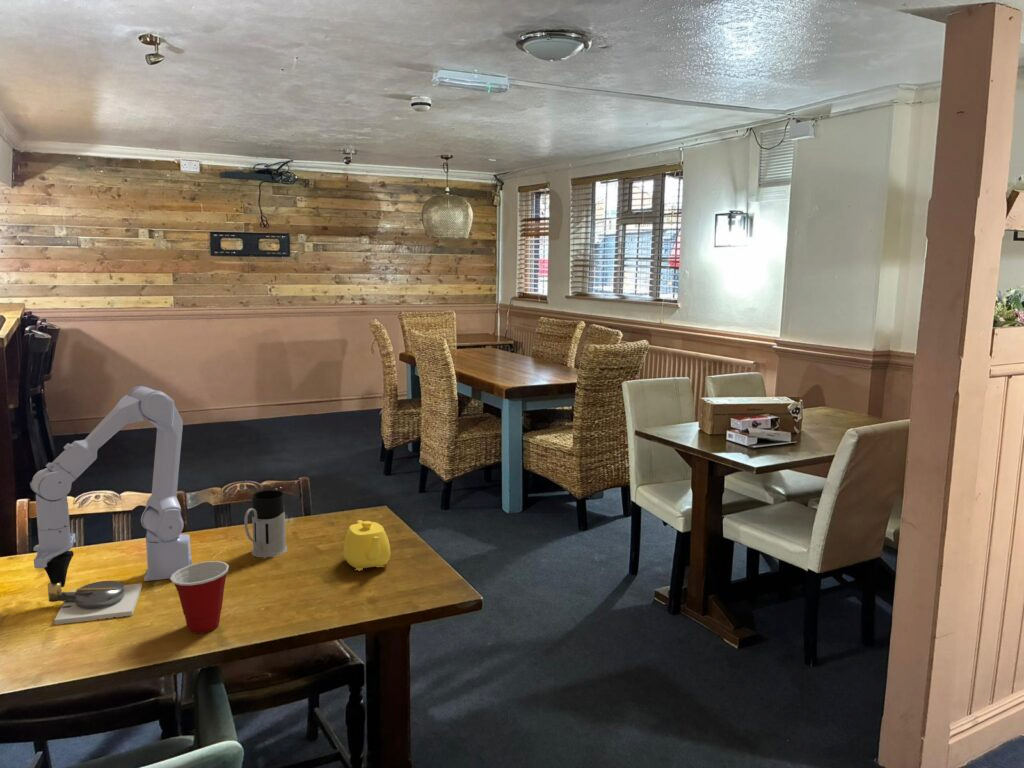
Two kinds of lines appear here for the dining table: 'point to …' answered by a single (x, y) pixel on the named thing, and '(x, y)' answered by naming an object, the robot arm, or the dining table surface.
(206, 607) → the plastic cup
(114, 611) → the white square board
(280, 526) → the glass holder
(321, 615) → the dining table surface
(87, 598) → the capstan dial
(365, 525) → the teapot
